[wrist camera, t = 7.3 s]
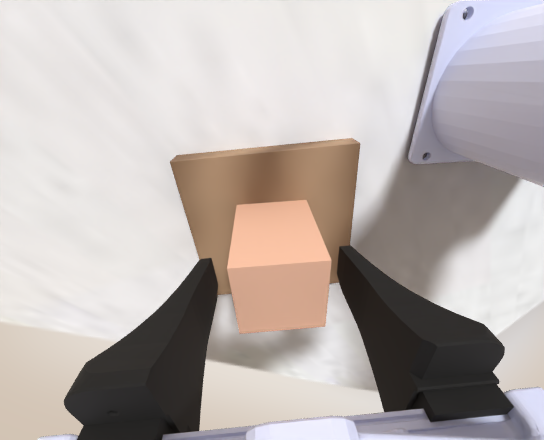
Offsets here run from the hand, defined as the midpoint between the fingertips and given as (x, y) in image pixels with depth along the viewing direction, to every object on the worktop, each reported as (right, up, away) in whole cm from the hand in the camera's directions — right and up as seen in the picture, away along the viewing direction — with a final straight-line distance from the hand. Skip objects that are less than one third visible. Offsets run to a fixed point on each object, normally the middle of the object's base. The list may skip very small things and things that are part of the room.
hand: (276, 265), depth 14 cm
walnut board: (0, +3, +5) cm, 6 cm away
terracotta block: (0, +2, +3) cm, 3 cm away
